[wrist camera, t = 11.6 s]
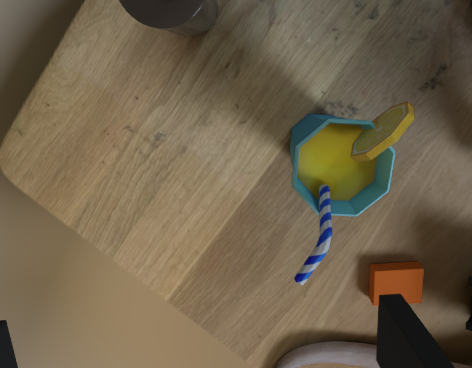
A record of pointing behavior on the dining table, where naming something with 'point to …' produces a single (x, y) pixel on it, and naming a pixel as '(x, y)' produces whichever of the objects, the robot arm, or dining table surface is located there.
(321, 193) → the cup
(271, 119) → the dining table surface
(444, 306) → the dining table surface
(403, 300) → the robot arm
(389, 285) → the orange rectangular block
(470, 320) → the light switch
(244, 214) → the dining table surface
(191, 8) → the sake bottle
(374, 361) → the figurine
